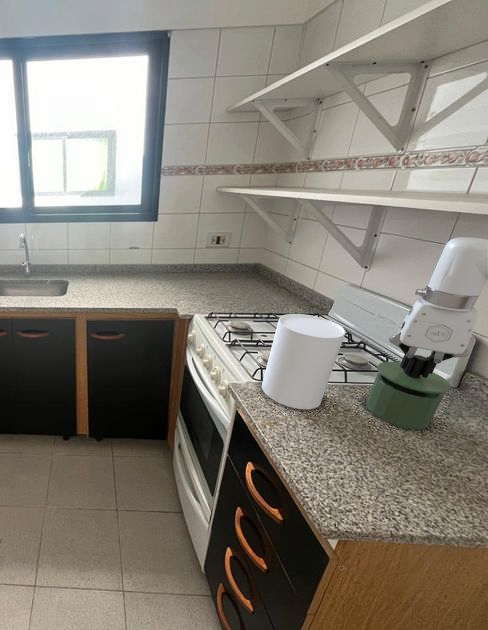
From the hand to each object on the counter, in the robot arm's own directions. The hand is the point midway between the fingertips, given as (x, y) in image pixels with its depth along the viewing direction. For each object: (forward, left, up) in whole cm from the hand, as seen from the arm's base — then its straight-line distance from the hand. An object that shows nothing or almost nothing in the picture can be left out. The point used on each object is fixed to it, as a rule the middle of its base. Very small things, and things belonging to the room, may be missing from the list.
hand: (414, 372), depth 79 cm
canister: (+22, +4, -12) cm, 25 cm away
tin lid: (0, 0, -1) cm, 1 cm away
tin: (0, 0, -12) cm, 12 cm away
